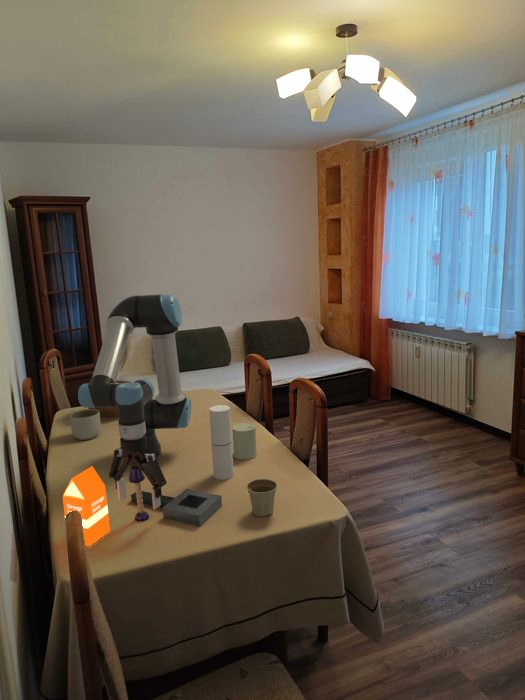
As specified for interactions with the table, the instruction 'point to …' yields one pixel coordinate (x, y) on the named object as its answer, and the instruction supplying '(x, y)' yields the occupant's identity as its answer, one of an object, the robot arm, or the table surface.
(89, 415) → the planter
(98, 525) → the orange juice
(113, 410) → the bowl
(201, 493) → the block
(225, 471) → the cylindrical container
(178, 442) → the table surface
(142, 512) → the toy lamp
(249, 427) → the can
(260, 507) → the flower pot
